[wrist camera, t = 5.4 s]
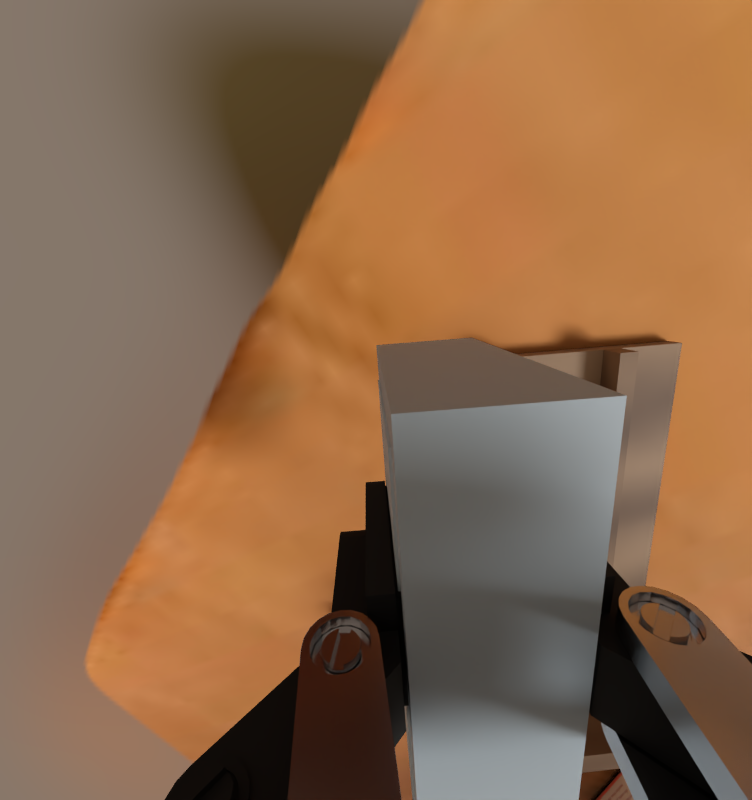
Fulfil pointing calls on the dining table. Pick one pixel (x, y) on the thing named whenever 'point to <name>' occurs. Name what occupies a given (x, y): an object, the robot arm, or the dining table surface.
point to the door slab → (497, 562)
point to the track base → (628, 463)
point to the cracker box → (616, 790)
